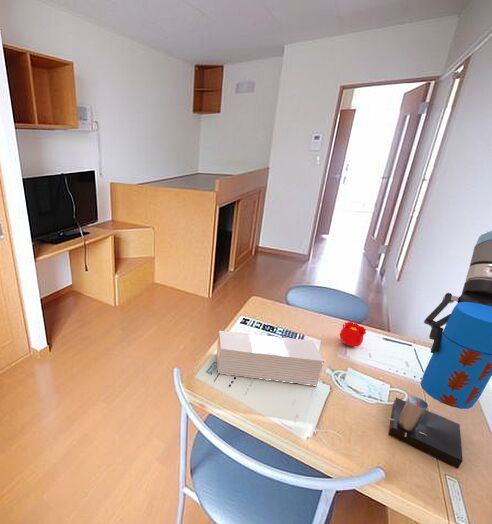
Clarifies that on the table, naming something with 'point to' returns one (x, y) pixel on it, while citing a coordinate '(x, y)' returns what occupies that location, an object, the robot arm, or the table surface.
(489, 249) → the robot arm
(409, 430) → the beige cylinder
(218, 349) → the stack of papers
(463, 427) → the table surface
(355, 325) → the flower
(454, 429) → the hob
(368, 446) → the table surface
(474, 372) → the thermos
